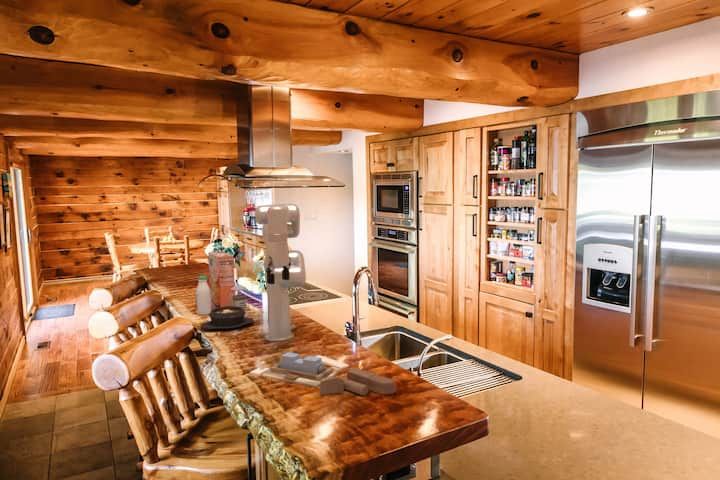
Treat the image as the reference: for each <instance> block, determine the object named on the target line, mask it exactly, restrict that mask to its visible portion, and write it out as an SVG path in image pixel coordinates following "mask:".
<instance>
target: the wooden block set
mask: <svg viewBox="0 0 720 480" xmlns="http://www.w3.org/2000/svg"><path fill="white" fill-rule="evenodd" d="M319 387H320V396H328V395H329V396H330V395H343V394H345V392H344V391H348V392H352V393H354V394H357V395H361V396H362V397H364V396H365V397H366V396H367V395H368V394H369V391H371V392H374V393H377V394H380V395H382V396H383V395H384V396H386V395H393V394H395V393H396V380H394V379H392V378H389V377H387V376H383V375H379V374H377V373H375V372H371V371H368V370H366V369H365V370H364V369H361V368H358V367H354V368H351V369H349V370H347V371H346V378H345V377H342V376H337V377H335V376H333V377H330V378H328V379H325V380H323V381H320V386H319Z"/></svg>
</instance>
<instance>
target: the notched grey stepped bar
mask: <svg viewBox="0 0 720 480" xmlns="http://www.w3.org/2000/svg"><path fill="white" fill-rule="evenodd" d="M279 361H280V362H279V363H280V368H285V369H290V370H295V371H301V372H306V373H311V374H316V375H319V374H320V373H322V372H323V371H325V367H326V366H324V363H323V362H321V358H319V357H315V356H311V355H308V356H305V358H301V357H300V353H294V352H290V351H289V352H288V351H287V352H285V353H284V354H282V355H281V357H280V360H279Z"/></svg>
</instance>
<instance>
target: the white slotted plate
mask: <svg viewBox="0 0 720 480" xmlns="http://www.w3.org/2000/svg"><path fill="white" fill-rule="evenodd" d="M266 365H267V364H266V361H261V362H259V366H258V367H257V368H255V369H253V370H251V371H249V374H250V375H252V376H256V377H260V376H262V375H263V374H264V373H266V372H268V371H270V370H271V367H267V366H266Z"/></svg>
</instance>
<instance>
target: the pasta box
mask: <svg viewBox="0 0 720 480" xmlns="http://www.w3.org/2000/svg"><path fill="white" fill-rule="evenodd" d="M208 278H209V288H210V292H211V307H212V308H213V309H215V308H218V307H225V306H230V305H231V299H233V298H232V293H233V295H236V293H235V292H236V291H232V290H231V288H232V287H234V286H236V285H235V258H234V255H232V254H230V253H227V252H225V251H212V252H211V251H210V252H208ZM230 294H231V295H230ZM229 296H230V298H229ZM229 301H230V304H229ZM233 302H235V301H233ZM234 305H235V304H234Z"/></svg>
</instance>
